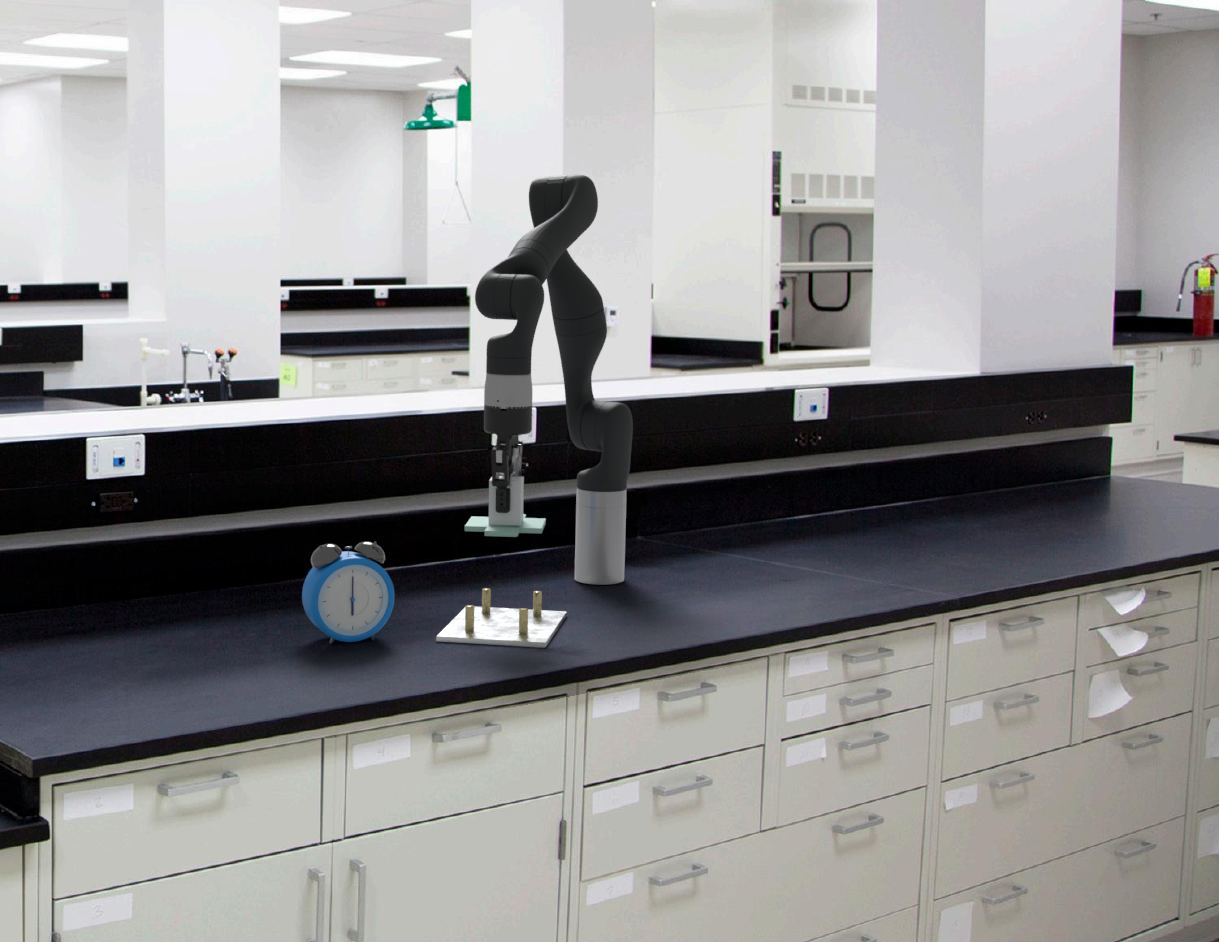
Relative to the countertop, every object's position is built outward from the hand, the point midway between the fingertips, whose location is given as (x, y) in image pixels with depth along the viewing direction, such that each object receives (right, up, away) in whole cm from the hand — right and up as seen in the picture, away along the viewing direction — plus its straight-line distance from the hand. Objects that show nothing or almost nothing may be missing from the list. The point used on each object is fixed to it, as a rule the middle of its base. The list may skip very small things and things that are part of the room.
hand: (506, 509), depth 238 cm
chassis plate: (-1, -19, +3) cm, 19 cm away
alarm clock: (-24, -20, -6) cm, 32 cm away
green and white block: (0, -3, 0) cm, 3 cm away
